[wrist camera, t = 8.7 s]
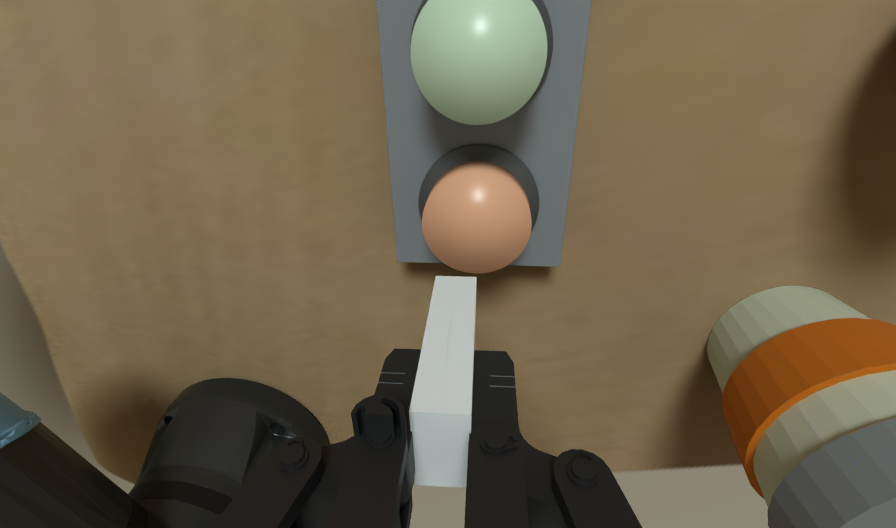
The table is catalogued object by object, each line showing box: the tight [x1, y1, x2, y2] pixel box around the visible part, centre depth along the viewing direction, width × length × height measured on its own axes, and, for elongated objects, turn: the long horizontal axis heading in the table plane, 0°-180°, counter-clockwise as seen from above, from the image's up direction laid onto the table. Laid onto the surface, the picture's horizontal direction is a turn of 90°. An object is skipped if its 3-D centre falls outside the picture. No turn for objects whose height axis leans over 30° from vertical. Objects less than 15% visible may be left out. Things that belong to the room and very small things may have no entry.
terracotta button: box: [422, 161, 532, 274], centre depth 24 cm, size 6×6×2 cm
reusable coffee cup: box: [707, 286, 896, 528], centre depth 25 cm, size 13×13×15 cm
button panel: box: [376, 0, 591, 267], centre depth 23 cm, size 10×24×4 cm, turn 1°
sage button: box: [410, 0, 547, 125], centre depth 19 cm, size 6×6×2 cm
